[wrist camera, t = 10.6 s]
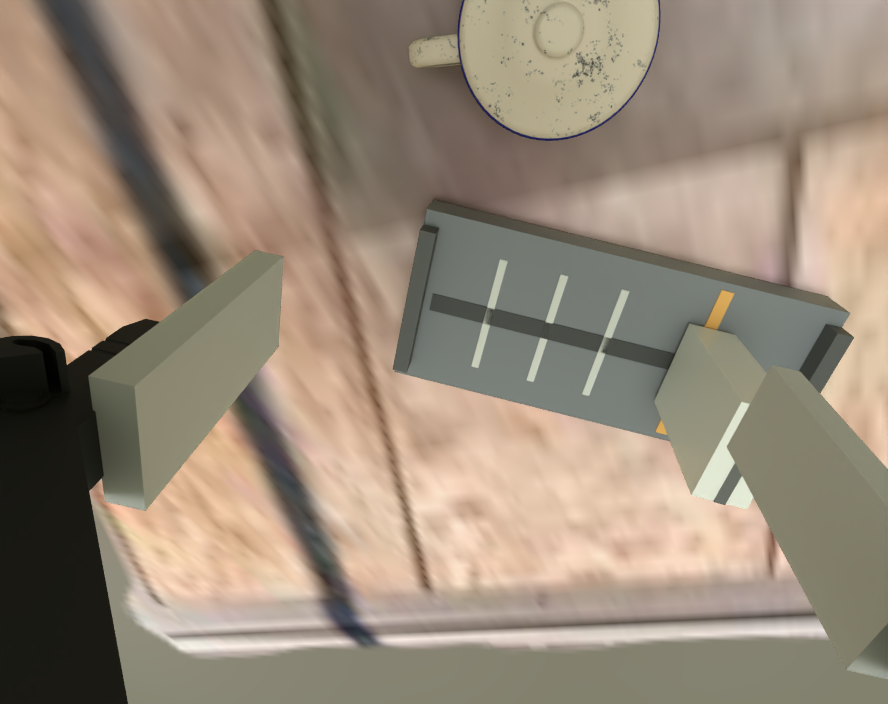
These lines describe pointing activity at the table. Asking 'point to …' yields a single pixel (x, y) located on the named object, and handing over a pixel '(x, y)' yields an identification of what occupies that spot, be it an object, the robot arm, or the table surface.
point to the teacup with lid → (548, 60)
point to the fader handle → (709, 410)
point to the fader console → (587, 318)
